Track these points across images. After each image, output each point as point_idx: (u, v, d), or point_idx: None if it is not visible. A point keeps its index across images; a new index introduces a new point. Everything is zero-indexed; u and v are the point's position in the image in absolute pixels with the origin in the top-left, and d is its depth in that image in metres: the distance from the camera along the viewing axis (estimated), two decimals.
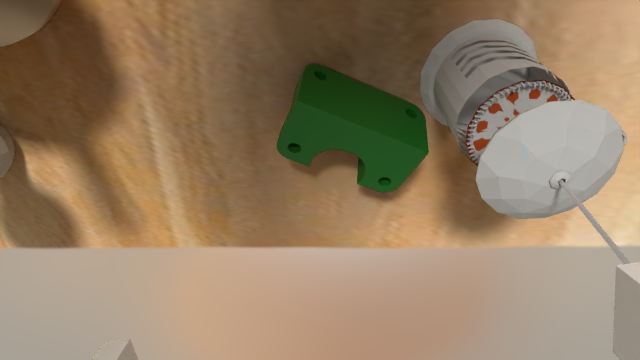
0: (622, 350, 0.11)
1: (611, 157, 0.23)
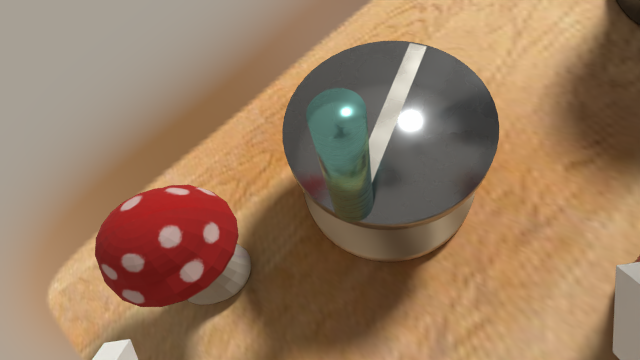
0: (622, 350, 0.11)
1: None
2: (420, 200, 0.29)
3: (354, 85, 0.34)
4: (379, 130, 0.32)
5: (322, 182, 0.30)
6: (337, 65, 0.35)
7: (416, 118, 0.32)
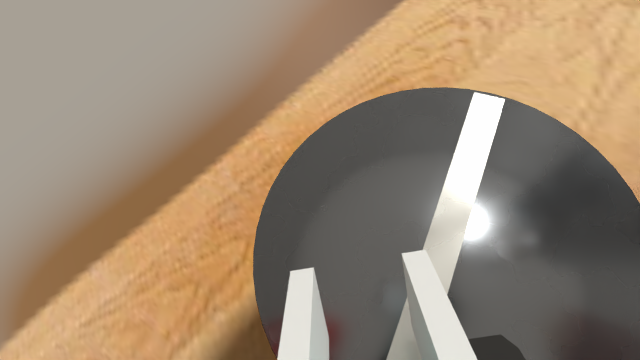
0: (412, 323, 0.14)
1: None
2: None
3: (381, 169, 0.19)
4: None
5: None
6: (350, 130, 0.20)
7: (499, 239, 0.17)
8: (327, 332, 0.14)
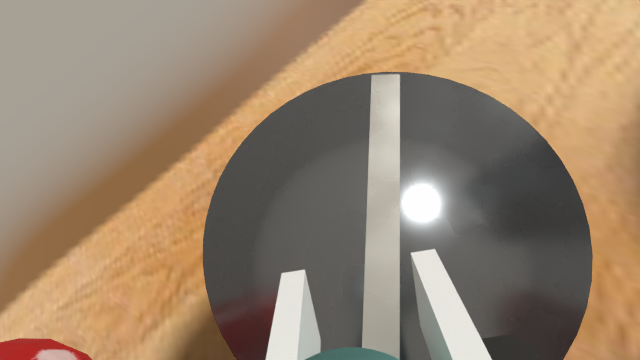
0: (421, 322, 0.13)
1: None
2: None
3: (307, 170, 0.20)
4: (376, 242, 0.18)
5: None
6: (267, 142, 0.21)
7: (431, 201, 0.18)
8: (319, 334, 0.14)
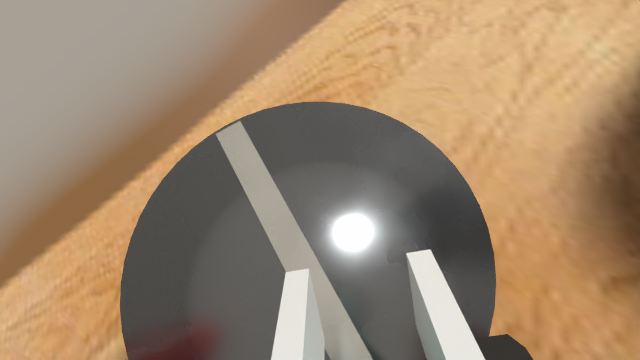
0: (417, 322, 0.13)
1: None
2: None
3: (203, 249, 0.19)
4: None
5: None
6: (150, 245, 0.19)
7: (326, 214, 0.19)
8: None
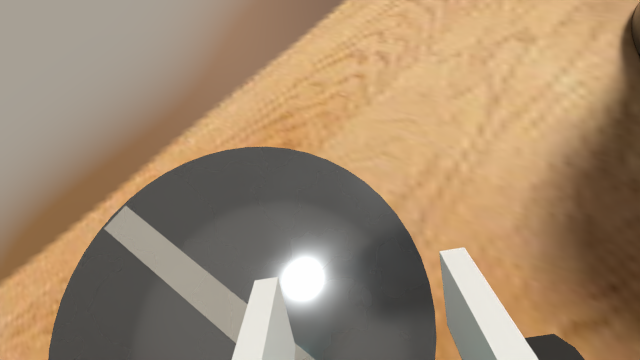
0: (449, 322, 0.13)
1: None
2: (401, 306, 0.17)
3: (133, 352, 0.17)
4: None
5: None
6: None
7: (247, 262, 0.18)
8: (293, 341, 0.14)
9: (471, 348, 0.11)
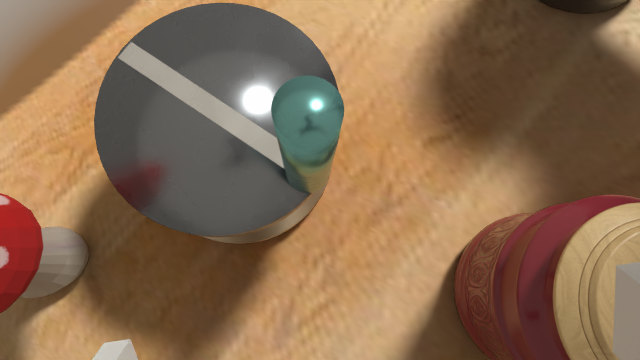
0: (622, 350, 0.11)
1: None
2: None
3: (154, 134, 0.27)
4: (227, 122, 0.27)
5: (273, 198, 0.27)
6: (115, 147, 0.27)
7: (224, 80, 0.28)
8: None
9: None
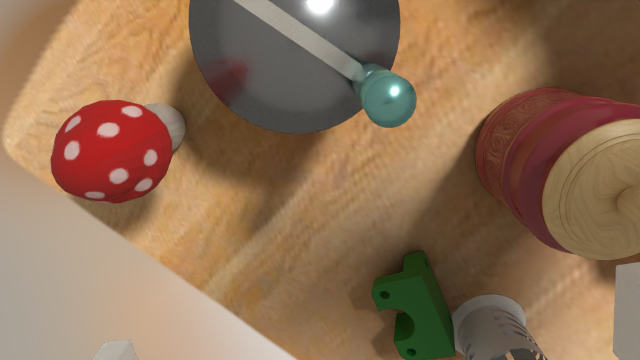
0: (622, 350, 0.11)
1: None
2: (383, 20, 0.32)
3: (242, 51, 0.33)
4: (302, 39, 0.32)
5: (342, 104, 0.34)
6: (212, 64, 0.33)
7: None
8: None
9: None
